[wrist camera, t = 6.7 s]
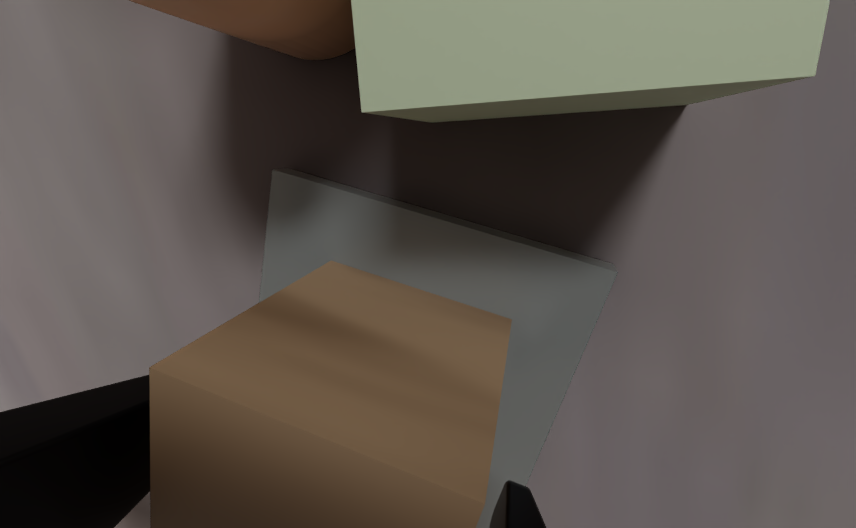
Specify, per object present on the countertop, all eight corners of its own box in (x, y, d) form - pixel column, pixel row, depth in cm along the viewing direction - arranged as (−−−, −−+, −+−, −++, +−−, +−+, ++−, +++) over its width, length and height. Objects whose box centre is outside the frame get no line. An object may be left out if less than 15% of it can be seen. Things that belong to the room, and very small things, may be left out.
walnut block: (461, 467, 11) (401, 718, 6) (307, 406, 11) (151, 589, 7) (511, 319, 9) (485, 504, 5) (331, 260, 10) (149, 367, 5)
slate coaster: (612, 264, 9) (617, 271, 8) (504, 519, 12) (502, 538, 11) (286, 167, 10) (272, 169, 10) (258, 418, 13) (246, 431, 12)
